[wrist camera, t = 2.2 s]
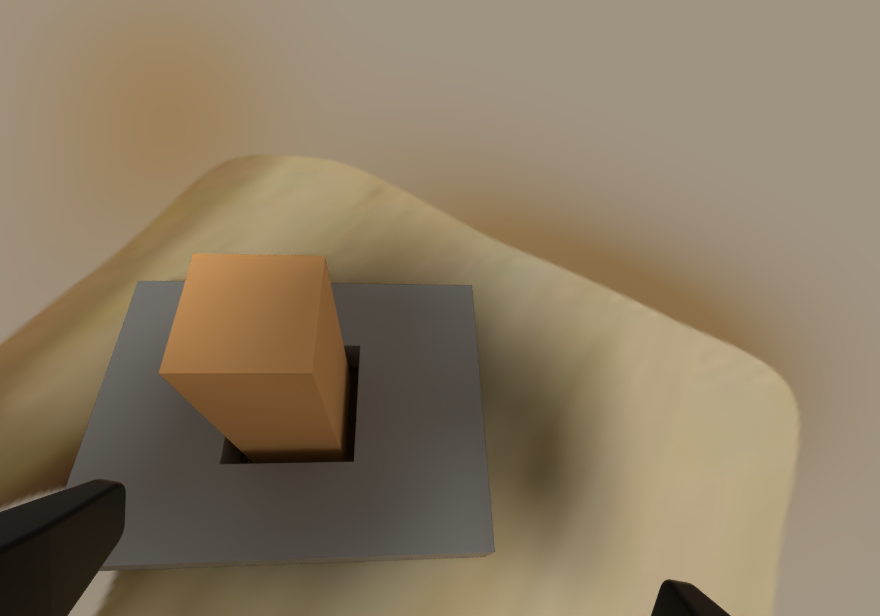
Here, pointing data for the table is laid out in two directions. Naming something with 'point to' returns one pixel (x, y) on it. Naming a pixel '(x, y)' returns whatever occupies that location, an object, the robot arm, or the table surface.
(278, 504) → the jig plate
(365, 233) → the table surface
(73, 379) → the table surface
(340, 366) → the orange bar
